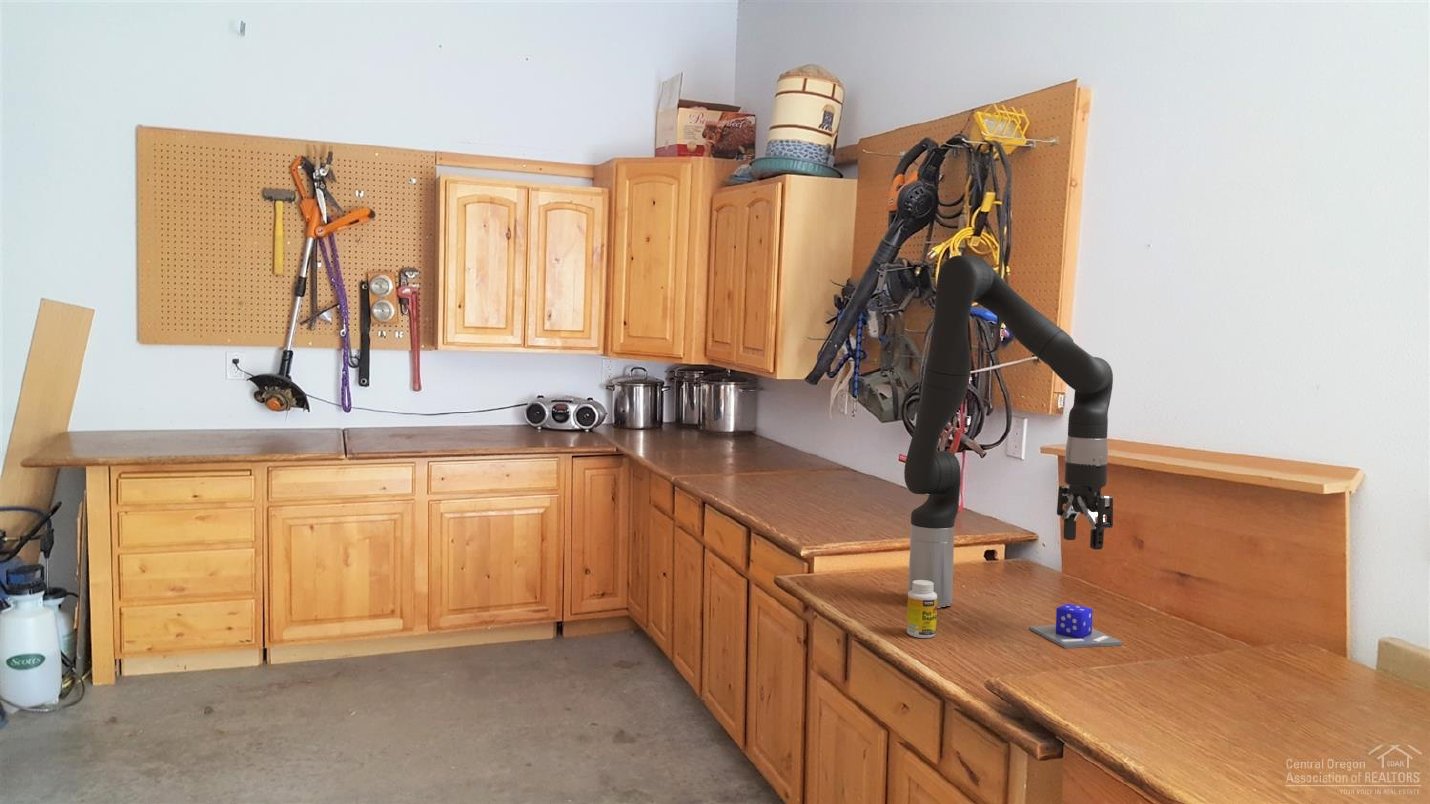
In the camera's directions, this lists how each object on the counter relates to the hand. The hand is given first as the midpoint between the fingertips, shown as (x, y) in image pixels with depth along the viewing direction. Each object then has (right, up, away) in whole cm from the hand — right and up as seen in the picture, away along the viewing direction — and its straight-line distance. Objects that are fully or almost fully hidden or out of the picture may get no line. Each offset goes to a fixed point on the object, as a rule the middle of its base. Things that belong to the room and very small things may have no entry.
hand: (1082, 544), depth 175 cm
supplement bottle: (-31, -18, -1) cm, 36 cm away
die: (-2, -17, 0) cm, 17 cm away
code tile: (-2, -18, 0) cm, 18 cm away
